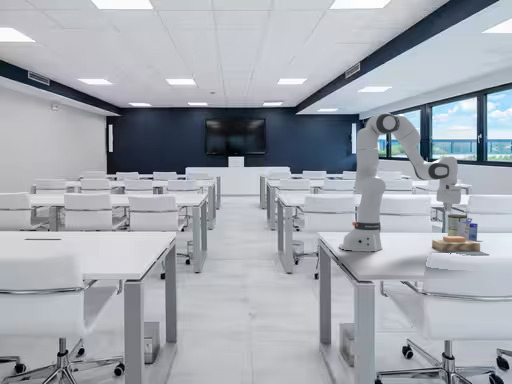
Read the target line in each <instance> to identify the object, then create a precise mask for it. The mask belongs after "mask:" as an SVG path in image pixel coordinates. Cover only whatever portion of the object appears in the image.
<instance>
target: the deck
mask: <svg viewBox="0 0 512 384" xmlns="http://www.w3.org/2000/svg"><path fill="white" fill-rule="evenodd" d="M431 248H433V249H436V250H438V251H440V252H444V251H466V250H478V251H481V243H480V242H478V241H477V242H475V241H472V240H469V239H466V242H447V241H444V240H443V239H432V240H431Z"/></svg>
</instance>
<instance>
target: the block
mask: <svg viewBox="0 0 512 384" xmlns="http://www.w3.org/2000/svg"><path fill="white" fill-rule="evenodd" d="M442 236H443V237H442V240H444V241H447V242H466V238H464V237H461V236H448V235H442Z"/></svg>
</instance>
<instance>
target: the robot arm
mask: <svg viewBox="0 0 512 384" xmlns="http://www.w3.org/2000/svg"><path fill="white" fill-rule="evenodd" d="M414 125H415V124H413V123H412V122H411V121H410V119H409V118H407V117H406V115H404V114H397V115H396V114H395V115H393V114H392V113H389V112H388V113H387V112H384V113H379V114H374V115H372V116H370V117H369V118H367V120H366V122H365V124H364V126H363V128H361V129H360V130H358V131H357V133H356V142H355V145H356V146H355V148H356V149H355V150H356V152H355V153H356V173H355V174H356V175H355V180H354V189H355V190H356V192H357V193H359V194H360V195H361V198H360V202H359V205H358V211H357V212H358V213H357V215H358V216H357V217H358V218H357V221H352V223H351V225H352V226H354V228H353V229H352V230H351V231H349V232H348V233H346V235H344V238H343V241H342V242H343V243H340V244H339V245H338V248H339V247H340V248H341V249H340V248H339V249H340V250H342V249H344V250H343V251H345V250H352V251H351V252H371V251H375V252H377V251H382V250H383V246H382V242H381V241H382V240H381V230H382V229H381V221H380V217H381V211H380V210H381V204H382V199H383V196H384V195H383V194H384V193H385V191H386V188H387V187H386V182H385V180H383V179H382V178H381V177H379V176H377V170H378V166H379V162H380V161H379V160H380V159H379V146H378V141H379V137H380V136H384V135H389V134H391V135H393V136H394V138H395V139H396V141H397V142H398V144H399V145H400V146H401V148H402V150H403V152H404V154H405V155H406V157H407V159H408V160H409V162H410V163H411V164H412V167H413V170H414V174H415V176H416V177H417V178H418V179H419V180H420V181H421V180H422V181H436V180H438V181H439V186H438V188H437V189H436V197H435V199H436V201H437V202H440V203H442V204H443V205H442V206H443V210H444V212H451V211H452V207H453V205H460V204H461V202H462V201H461V199H462V188H463V187H462V185H461V184H459V183H458V170H459V169H458V161H457V158H456V157H455V156H451V155H442V156H441V157H440V158H438V159H437V160H436V159H435V160H434V161H432V162H430V161H429V162H428V161H426V160H424V159H423V157H422V156H421V153H420V152H419V151H418V148H417V146H418V145H419V144H420V141H421V134H420V132H419V131H418V129H417V128H416V127H415V126H414Z"/></svg>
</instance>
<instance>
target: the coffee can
mask: <svg viewBox="0 0 512 384" xmlns="http://www.w3.org/2000/svg"><path fill="white" fill-rule="evenodd" d="M467 219H468V215H465V214H458V213H457V214H453V213H452V214H448V215H447V236H457V234H458V222H466V220H467Z"/></svg>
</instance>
